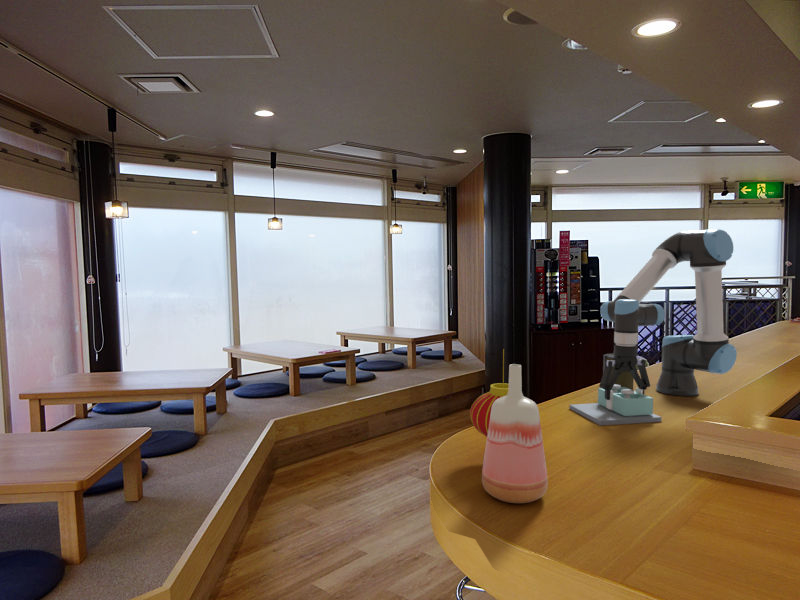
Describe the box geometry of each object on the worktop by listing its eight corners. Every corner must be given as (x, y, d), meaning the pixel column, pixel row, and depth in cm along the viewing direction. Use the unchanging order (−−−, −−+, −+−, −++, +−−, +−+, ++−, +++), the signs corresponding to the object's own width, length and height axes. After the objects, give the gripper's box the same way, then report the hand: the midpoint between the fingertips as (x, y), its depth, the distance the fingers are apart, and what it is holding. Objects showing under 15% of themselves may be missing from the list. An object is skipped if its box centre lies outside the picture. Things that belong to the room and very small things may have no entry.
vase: (535, 515, 108) (537, 374, 106) (471, 499, 116) (472, 367, 114) (555, 490, 121) (557, 362, 119) (495, 477, 128) (496, 357, 126)
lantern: (463, 468, 134) (464, 351, 132) (477, 446, 150) (478, 342, 148) (531, 477, 128) (533, 355, 126) (538, 453, 144) (540, 345, 142)
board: (625, 405, 192) (625, 380, 192) (661, 421, 173) (662, 393, 172) (569, 408, 188) (569, 383, 188) (600, 425, 169) (600, 397, 168)
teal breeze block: (624, 401, 190) (624, 387, 190) (652, 414, 174) (653, 398, 174) (597, 403, 188) (598, 388, 188) (624, 416, 172) (624, 399, 172)
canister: (628, 398, 203) (629, 346, 202) (637, 405, 193) (639, 351, 191) (599, 397, 204) (600, 346, 203) (607, 404, 194) (608, 351, 192)
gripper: (648, 341, 185) (647, 403, 187) (589, 343, 181) (587, 406, 183) (663, 345, 178) (661, 409, 179) (601, 347, 174) (599, 412, 175)
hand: (624, 408), depth 181 cm, fingers closed on teal breeze block, 10 cm apart
